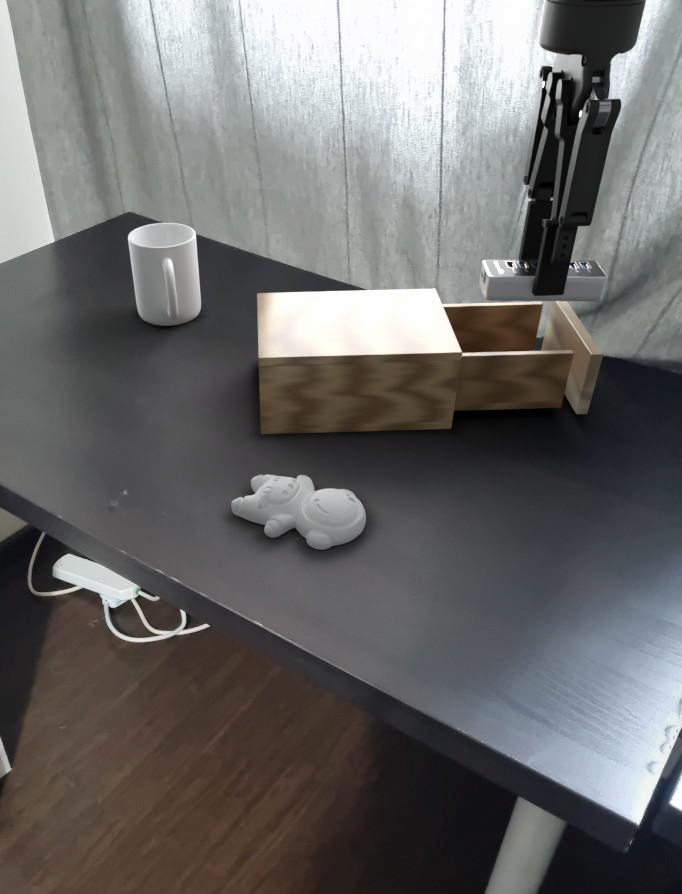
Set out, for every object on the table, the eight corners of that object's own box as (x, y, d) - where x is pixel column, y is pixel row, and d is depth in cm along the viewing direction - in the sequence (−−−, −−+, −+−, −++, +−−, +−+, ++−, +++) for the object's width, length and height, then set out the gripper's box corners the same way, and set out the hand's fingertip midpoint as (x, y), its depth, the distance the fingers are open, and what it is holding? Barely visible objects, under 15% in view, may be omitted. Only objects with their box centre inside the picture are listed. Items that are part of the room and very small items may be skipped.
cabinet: (427, 359, 97) (435, 288, 91) (451, 429, 86) (462, 352, 80) (259, 364, 97) (256, 292, 91) (260, 434, 86) (258, 357, 80)
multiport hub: (603, 301, 77) (609, 277, 76) (485, 300, 78) (489, 276, 76) (591, 283, 81) (596, 259, 79) (478, 282, 81) (481, 258, 80)
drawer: (561, 351, 96) (574, 295, 92) (598, 413, 86) (615, 353, 81) (391, 355, 96) (396, 299, 91) (409, 419, 86) (415, 359, 81)
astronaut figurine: (268, 472, 81) (267, 446, 79) (380, 509, 76) (383, 482, 74) (219, 521, 75) (217, 495, 73) (337, 565, 70) (338, 538, 68)
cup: (197, 296, 111) (191, 219, 105) (210, 336, 102) (204, 256, 96) (135, 302, 110) (125, 225, 103) (143, 343, 101) (132, 262, 94)
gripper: (517, -25, 70) (478, 247, 85) (585, 10, 57) (525, 325, 72) (604, -27, 70) (550, 244, 85) (694, 7, 57) (610, 322, 72)
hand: (539, 281), depth 79 cm, fingers closed on multiport hub, 5 cm apart
